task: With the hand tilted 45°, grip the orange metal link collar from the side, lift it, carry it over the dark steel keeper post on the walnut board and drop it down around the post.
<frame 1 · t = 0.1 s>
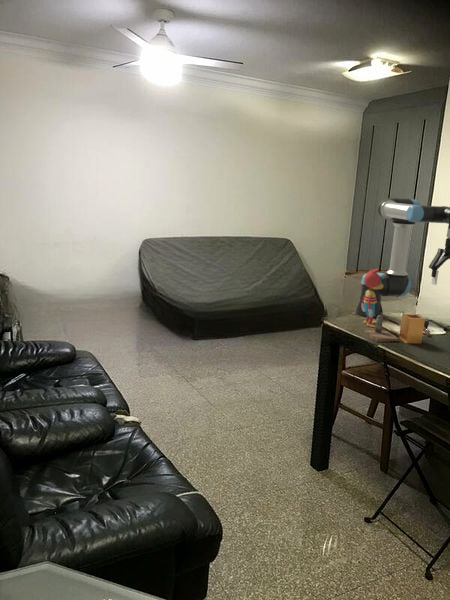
hand: (447, 284, 223), 28 cm above the table, tool pointing down, fingers open, 13 cm apart
toy: (368, 325, 254), on the table
link collar: (409, 340, 230), on the table
pink handled mallet: (419, 332, 247), on the table
keeper post: (377, 334, 237), on the table
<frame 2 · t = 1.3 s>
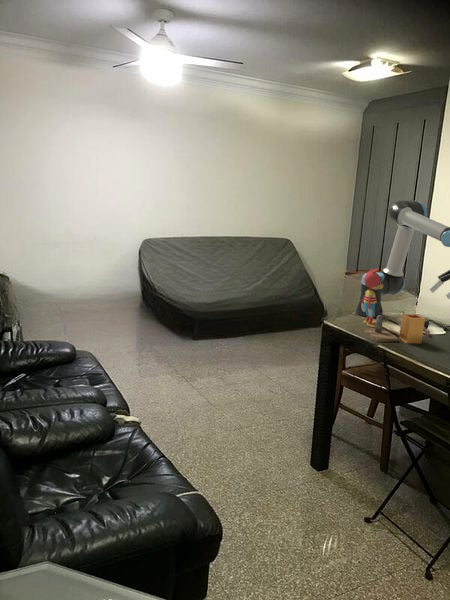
hand: (438, 293, 225), 23 cm above the table, tool tilted 45°, fingers open, 13 cm apart
nothing on the table moved.
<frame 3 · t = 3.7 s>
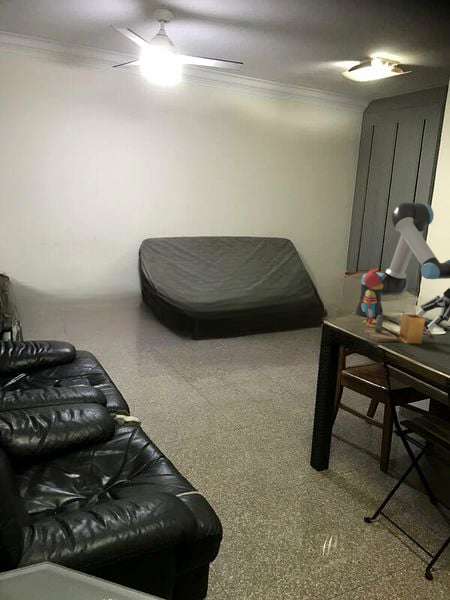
hand: (421, 324, 227), 9 cm above the table, tool tilted 45°, fingers open, 13 cm apart
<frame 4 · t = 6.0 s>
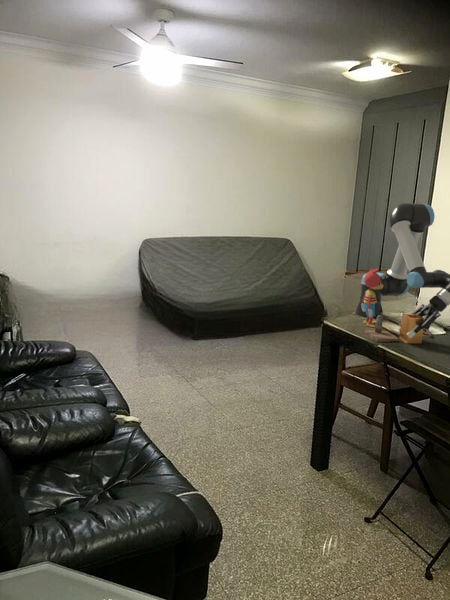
hand: (404, 333, 228), 4 cm above the table, tool tilted 45°, fingers closed on link collar, 7 cm apart
link collar: (410, 340, 230), on the table, touching gripper
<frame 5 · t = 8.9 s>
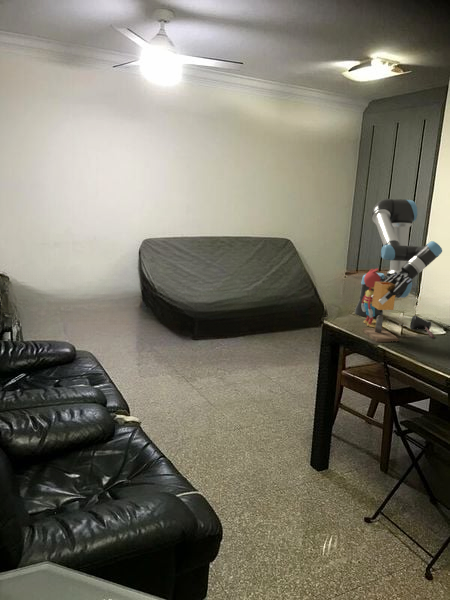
hand: (376, 300, 232), 17 cm above the table, tool tilted 45°, fingers closed on link collar, 7 cm apart
link collar: (382, 307, 233), point 14 cm above the table, touching gripper
when the fingers open (8 cm above the table, at t = 12.0 s): link collar drops 3 cm, resting on keeper post.
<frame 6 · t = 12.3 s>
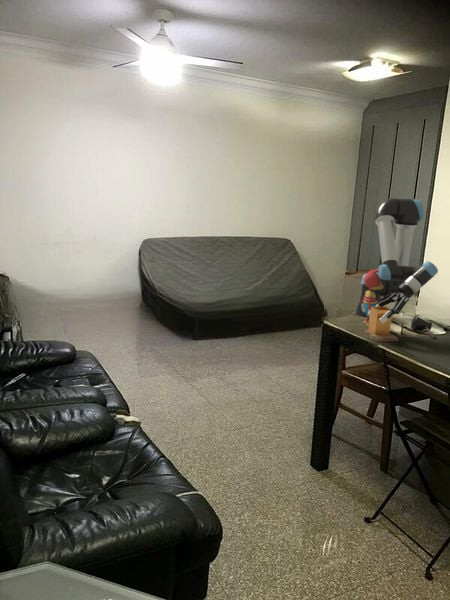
hand: (375, 318, 234), 9 cm above the table, tool tilted 45°, fingers open, 12 cm apart
toy: (368, 325, 254), on the table, touching arm
link collar: (378, 332, 236), point 1 cm above the table, touching keeper post
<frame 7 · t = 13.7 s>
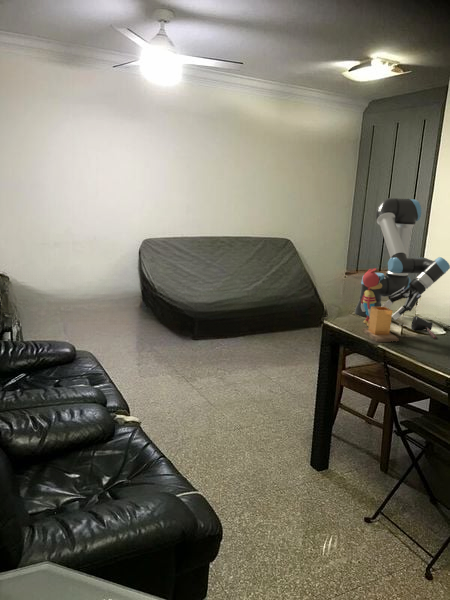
hand: (386, 314, 234), 11 cm above the table, tool tilted 45°, fingers open, 13 cm apart
toy: (369, 325, 254), on the table
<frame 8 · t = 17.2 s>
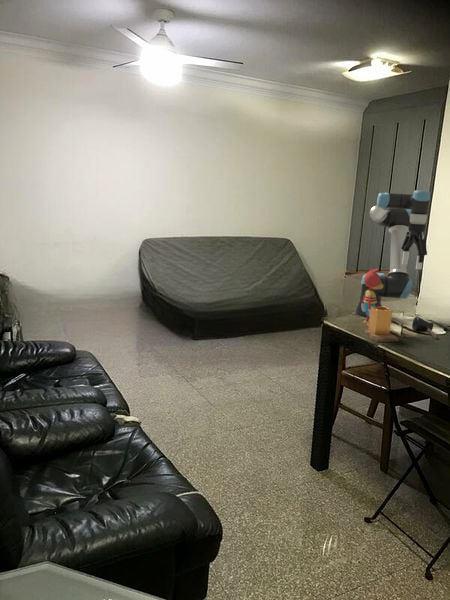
hand: (411, 266, 239), 33 cm above the table, tool pointing down, fingers open, 13 cm apart
at the end: link collar 0.9 cm from the keeper post (horizontally); link collar point 1.5 cm above the table; the gripper is holding nothing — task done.
